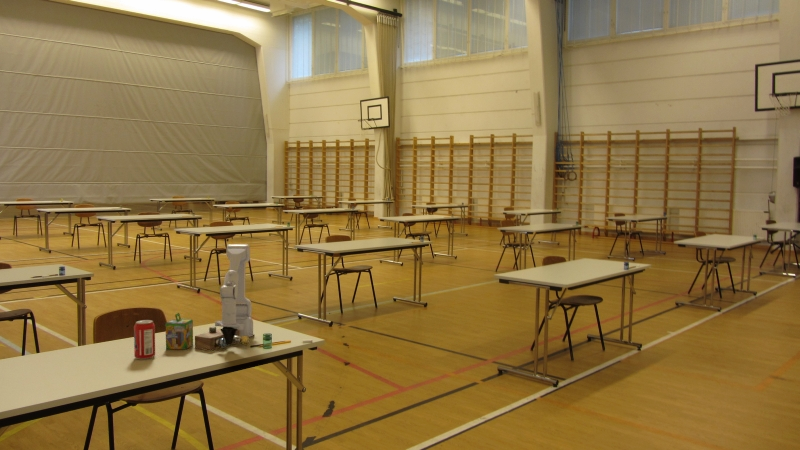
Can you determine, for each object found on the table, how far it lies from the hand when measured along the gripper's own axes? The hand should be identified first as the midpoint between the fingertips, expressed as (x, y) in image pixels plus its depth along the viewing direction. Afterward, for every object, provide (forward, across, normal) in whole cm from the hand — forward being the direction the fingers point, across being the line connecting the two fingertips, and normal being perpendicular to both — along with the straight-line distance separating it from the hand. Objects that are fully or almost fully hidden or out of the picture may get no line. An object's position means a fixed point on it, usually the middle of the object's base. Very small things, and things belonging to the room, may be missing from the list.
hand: (229, 344), depth 262 cm
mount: (+2, -11, +4) cm, 12 cm away
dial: (-3, -14, +4) cm, 15 cm away
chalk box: (+3, -22, -7) cm, 23 cm away
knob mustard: (+2, -3, +8) cm, 9 cm away
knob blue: (+2, -8, 0) cm, 8 cm away
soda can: (+3, -21, -26) cm, 34 cm away
